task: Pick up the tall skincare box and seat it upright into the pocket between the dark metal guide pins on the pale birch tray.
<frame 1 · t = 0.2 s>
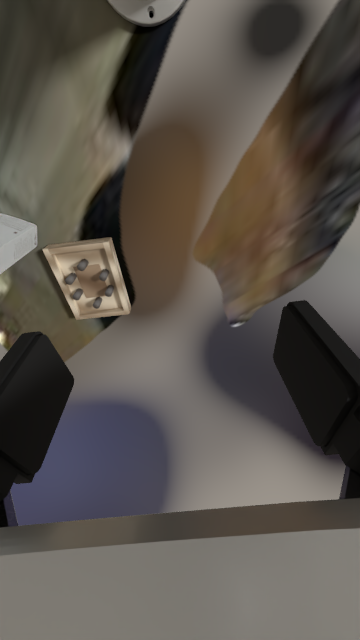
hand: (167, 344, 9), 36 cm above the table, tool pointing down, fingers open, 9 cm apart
pin tray: (93, 279, 47), on the table
skincare box: (19, 230, 41), on the table
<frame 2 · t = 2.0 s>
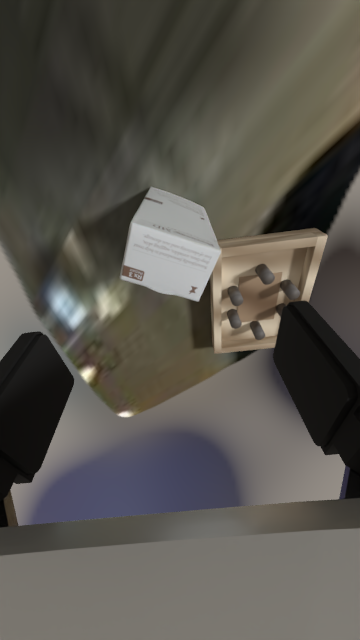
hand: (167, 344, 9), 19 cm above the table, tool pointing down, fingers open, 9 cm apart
pin tray: (254, 294, 30), on the table
skincare box: (170, 217, 24), on the table
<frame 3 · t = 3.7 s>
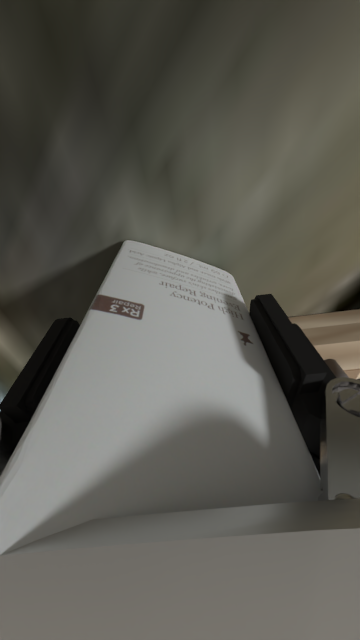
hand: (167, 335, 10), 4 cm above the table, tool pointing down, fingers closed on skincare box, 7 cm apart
pin tray: (303, 388, 19), on the table
skincare box: (167, 288, 13), on the table, touching gripper
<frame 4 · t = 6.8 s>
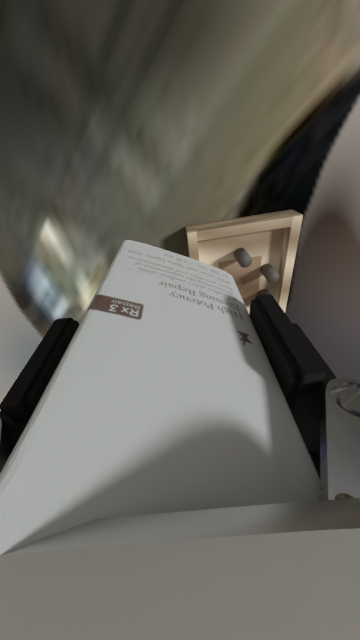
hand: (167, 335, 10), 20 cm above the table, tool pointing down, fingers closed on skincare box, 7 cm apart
pin tray: (236, 280, 30), on the table
skincare box: (166, 288, 13), point 16 cm above the table, touching gripper
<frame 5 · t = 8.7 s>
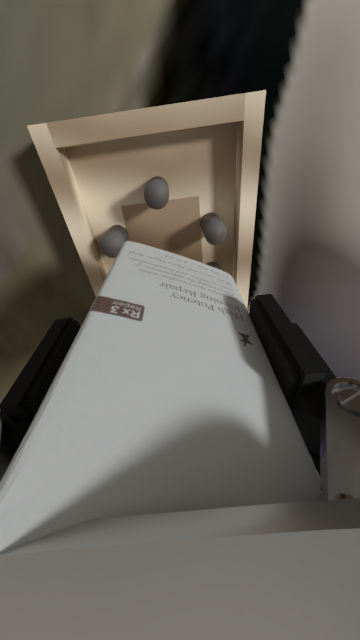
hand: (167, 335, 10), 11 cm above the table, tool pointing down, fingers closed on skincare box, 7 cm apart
pin tray: (167, 247, 18), on the table
skincare box: (166, 289, 13), point 7 cm above the table, touching gripper
when the fingers open (7 cm above the table, at t = 10.2 s): skincare box stays where it is, resting on pin tray.
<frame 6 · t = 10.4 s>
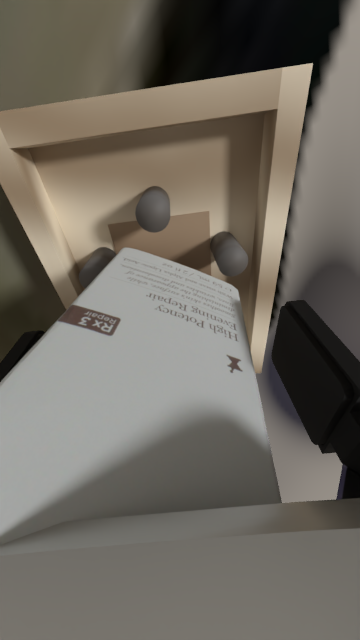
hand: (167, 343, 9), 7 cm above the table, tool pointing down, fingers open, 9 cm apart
pin tray: (168, 271, 15), on the table
skincare box: (168, 299, 12), point 3 cm above the table, touching gripper, pin tray
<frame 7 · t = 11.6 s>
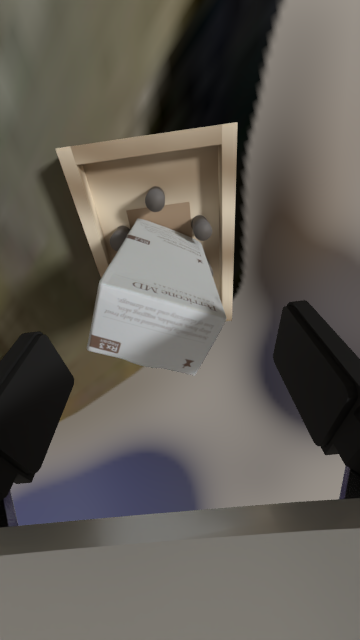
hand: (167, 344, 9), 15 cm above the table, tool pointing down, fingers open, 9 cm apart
pin tray: (164, 245, 21), on the table
skincare box: (161, 252, 21), point 1 cm above the table, touching pin tray
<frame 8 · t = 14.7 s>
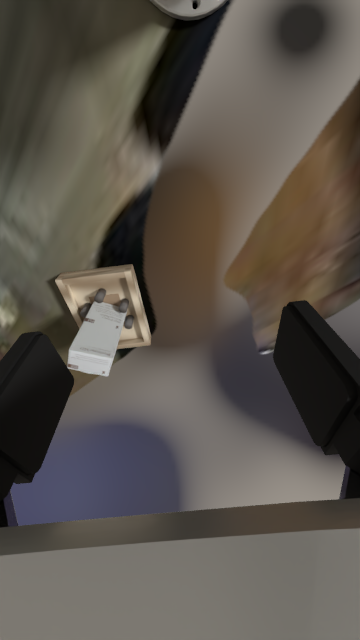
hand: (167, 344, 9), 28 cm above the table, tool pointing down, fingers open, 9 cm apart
pin tray: (111, 308, 42), on the table
skincare box: (108, 312, 41), point 1 cm above the table, touching pin tray
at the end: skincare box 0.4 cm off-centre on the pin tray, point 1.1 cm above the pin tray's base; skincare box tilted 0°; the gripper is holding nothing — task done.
